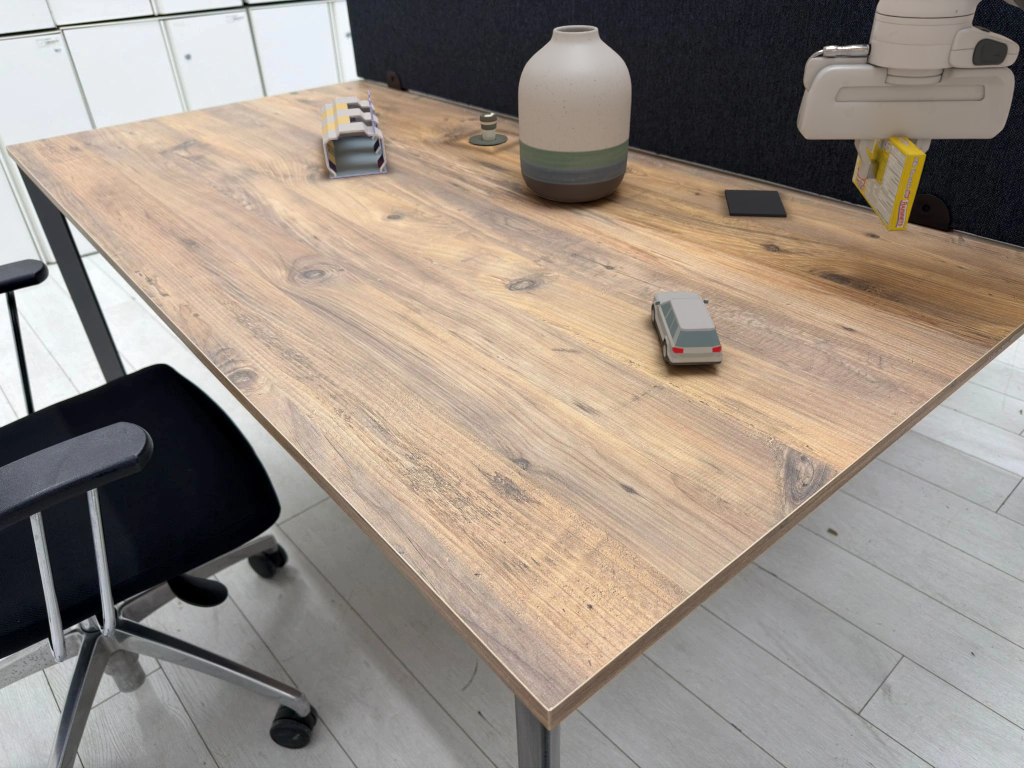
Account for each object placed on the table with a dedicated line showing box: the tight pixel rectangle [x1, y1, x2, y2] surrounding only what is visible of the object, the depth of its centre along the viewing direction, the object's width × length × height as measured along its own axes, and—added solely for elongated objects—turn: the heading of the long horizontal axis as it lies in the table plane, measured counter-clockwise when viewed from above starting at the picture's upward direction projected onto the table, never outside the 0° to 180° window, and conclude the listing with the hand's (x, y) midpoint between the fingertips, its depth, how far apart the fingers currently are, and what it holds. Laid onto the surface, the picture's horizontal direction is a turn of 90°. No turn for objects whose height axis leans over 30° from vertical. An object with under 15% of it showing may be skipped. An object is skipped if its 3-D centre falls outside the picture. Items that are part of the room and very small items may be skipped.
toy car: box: [650, 291, 723, 366], centre depth 76 cm, size 6×13×5 cm, turn 0°
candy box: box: [851, 137, 927, 232], centre depth 80 cm, size 16×2×8 cm, turn 172°
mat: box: [724, 189, 788, 218], centre depth 110 cm, size 8×10×1 cm
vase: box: [517, 24, 633, 204], centre depth 110 cm, size 17×17×24 cm
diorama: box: [320, 90, 388, 179], centre depth 133 cm, size 25×10×13 cm, turn 13°
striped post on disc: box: [468, 112, 509, 146], centre depth 141 cm, size 12×12×5 cm
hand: (883, 177), depth 81 cm, fingers closed on candy box, 2 cm apart
